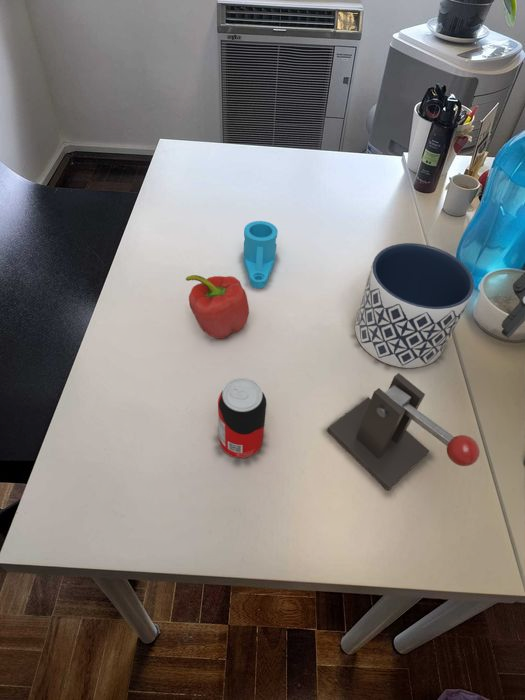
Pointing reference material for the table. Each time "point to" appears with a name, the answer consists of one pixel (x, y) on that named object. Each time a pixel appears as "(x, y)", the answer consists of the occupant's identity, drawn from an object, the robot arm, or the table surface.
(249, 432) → the beverage can
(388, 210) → the table surface
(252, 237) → the bracket
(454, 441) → the tap lever
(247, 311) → the vegetable
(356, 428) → the grey lever stand
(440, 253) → the planter
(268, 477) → the table surface
